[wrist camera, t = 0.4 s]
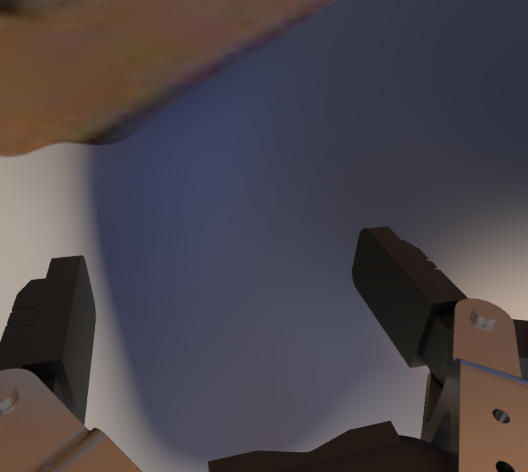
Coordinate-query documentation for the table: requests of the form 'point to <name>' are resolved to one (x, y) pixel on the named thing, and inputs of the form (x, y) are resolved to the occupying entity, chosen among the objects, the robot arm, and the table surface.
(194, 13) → the table surface
